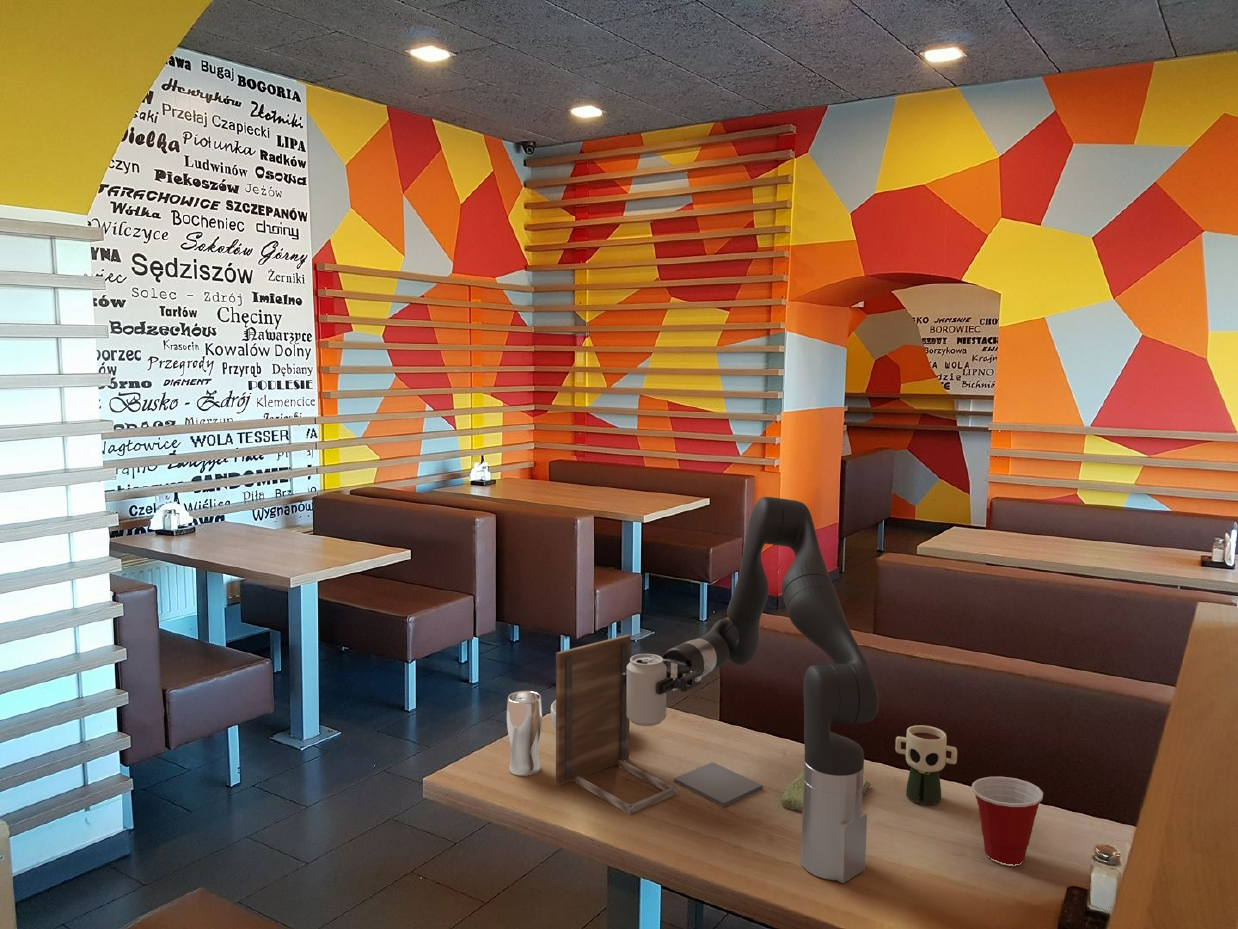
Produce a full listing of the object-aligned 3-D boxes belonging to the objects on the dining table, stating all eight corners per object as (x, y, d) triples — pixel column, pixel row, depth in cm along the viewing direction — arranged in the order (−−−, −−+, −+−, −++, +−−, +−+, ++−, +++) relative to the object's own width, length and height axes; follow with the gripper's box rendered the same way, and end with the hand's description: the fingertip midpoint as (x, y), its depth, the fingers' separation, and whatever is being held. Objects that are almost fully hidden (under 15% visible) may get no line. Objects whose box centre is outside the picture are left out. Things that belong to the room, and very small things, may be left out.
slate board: (762, 789, 169) (762, 785, 169) (723, 807, 162) (723, 803, 162) (712, 765, 179) (712, 762, 179) (673, 782, 172) (673, 778, 172)
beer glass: (544, 762, 180) (545, 691, 178) (538, 778, 173) (538, 704, 171) (511, 761, 180) (510, 689, 179) (503, 776, 174) (503, 702, 172)
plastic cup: (979, 833, 154) (983, 766, 153) (1046, 855, 147) (1051, 785, 146) (958, 859, 146) (962, 789, 144) (1028, 883, 139) (1033, 810, 138)
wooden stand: (688, 789, 169) (691, 657, 166) (617, 820, 157) (618, 678, 154) (625, 757, 182) (627, 634, 180) (555, 784, 171) (556, 652, 168)
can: (619, 716, 168) (619, 654, 167) (654, 709, 171) (655, 649, 170) (637, 731, 161) (637, 667, 160) (673, 724, 164) (674, 661, 163)
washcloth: (873, 789, 171) (873, 773, 170) (844, 829, 156) (845, 811, 156) (807, 772, 178) (808, 757, 177) (774, 809, 163) (775, 792, 162)
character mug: (889, 800, 165) (892, 733, 164) (896, 785, 172) (899, 720, 170) (951, 814, 160) (955, 745, 159) (956, 798, 167) (960, 731, 165)
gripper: (660, 636, 181) (610, 656, 168) (720, 650, 172) (672, 673, 159) (660, 671, 181) (610, 695, 169) (720, 687, 173) (671, 713, 160)
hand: (640, 684), depth 164 cm, fingers closed on can, 7 cm apart
